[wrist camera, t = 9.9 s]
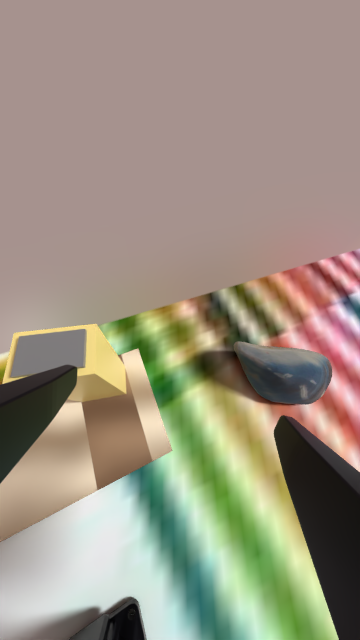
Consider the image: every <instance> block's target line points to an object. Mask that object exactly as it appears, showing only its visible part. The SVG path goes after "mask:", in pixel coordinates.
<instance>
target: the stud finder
mask: <svg viewBox="0 0 360 640" xmlns="http://www.w3.org/2000/svg"><path fill="white" fill-rule="evenodd" d="M67 364H68V365H73V366H76V367H77V369H78V371H77V384H76V386H75V388H74V390H73V391H72V393H71V394H70V396H69V397H68V400H74V401H79V402H85V401H91V400H96V399H102V398H107V397H113V396H119V395H124V394H126V375H125V365H124V364H123V362H122V361H121V360H120V358H119V357H118V355H117V354H116V352H115V351H114V349H113V348H112V346H111V345H110V344H109V342H108V341H107V339H106V338H105V336H104V335H103V333H102V332H101V330H100V329H99V328H98V326H97V325H96V324H90V325H81V326H72V327H63V328H54V329H45V330H36V331H27V332H18V333H14V335H13V340H12V344H11V349H10V353H9V357H8V361H7V365H6V370H5V374H4V378H3V383H2V384H4V383H8V382H11V381H14V380H17V379H21V378H24V377H27V376H31V375H34V374H37V373H40V372H44V371H47V370H50V369H53V368H57V367H60V366H63V365H67Z"/></svg>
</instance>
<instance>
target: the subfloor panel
mask: <svg viewBox="0 0 360 640" xmlns="http://www.w3.org/2000/svg"><path fill="white" fill-rule="evenodd" d="M118 357H119V358H120V360H121V361H122V362H123V364H124V365H125V375H126V394H124V395H119V396H113V397H107V398H102V399H96V400H91V401H85V402H79V401H74V400H68V399H67V400H66V402H65V403H64V405H63V406H62V407H61V409H60V410H59V412H58V413H57V415H56V416H55V418H54V419H53V420H52V422H51V423H50V424H49V426H48V427H47V428H46V429H45V430H44V432H43V433H42V434H41V435H40V437H39V438H38V439H37V440H36V441H35V443H34V444H33V445H32V446H31V447H30V449H29V450H28V451H27V452H26V453H25V455H24V456H23V457H22V458H21V460H20V461H19V462H18V463H17V464H16V466H15V467H14V468H13V469H12V470H11V472H10V473H9V474H8V475H7V476H6V478H5V479H4V480H3V481H2V483H1V484H0V542H1V541H3V540H5V539H7V538H9V537H11V536H13V535H14V534H16V533H18V532H20V531H22V530H24V529H26V528H28V527H29V526H31V525H33V524H35V523H37V522H39V521H41V520H43V519H45V518H46V517H48V516H50V515H52V514H54V513H56V512H58V511H60V510H62V509H63V508H65V507H67V506H69V505H71V504H73V503H75V502H77V501H78V500H80V499H82V498H84V497H86V496H88V495H90V494H92V493H94V492H95V491H97V490H99V489H101V488H103V487H105V486H107V485H109V484H110V483H112V482H114V481H116V480H118V479H120V478H122V477H124V476H126V475H127V474H129V473H131V472H133V471H135V470H137V469H139V468H141V467H143V466H144V465H146V464H148V463H150V462H152V461H154V460H156V459H158V458H159V457H161V456H163V455H165V454H167V453H169V452H171V451H172V448H171V445H170V442H169V439H168V436H167V433H166V430H165V427H164V424H163V421H162V418H161V415H160V412H159V410H158V407H157V404H156V401H155V398H154V395H153V392H152V389H151V386H150V383H149V380H148V377H147V374H146V371H145V368H144V365H143V362H142V359H141V356H140V353H139V350H138V349H135V350H133V351H130V352H127V353H124V354H121V355H118Z"/></svg>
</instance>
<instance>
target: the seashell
mask: <svg viewBox="0 0 360 640" xmlns="http://www.w3.org/2000/svg"><path fill="white" fill-rule="evenodd" d="M234 350H235V352H236V354H237V356H238V358H239V360H240V363H241V365H242V368H243V370H244V372H245V374H246V376H247V378H248V380H249V382H250V383H251V385H252V387H253V388H254V389H255V391H256V392H257V393H258V394H259V395H260V396H262V397H263V398H265V399H268V400H270V401H272V402H279V403H285V404H311V403H313V402H315V401H316V400H318V399H319V398H321V397H322V395H323V394H324V393H325V391H326V389H327V387H328V385H329V383H330V381H331V378H332V367H331V364H330V362H329V360H328V359H327V358H326V357H325V356H323V355H322V354H319V353H317V352H313V351H309V350H304V349H296V348H284V347H270V346H260V345H254V344H249V343H245V342H236V343H235V344H234Z"/></svg>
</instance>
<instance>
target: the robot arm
mask: <svg viewBox="0 0 360 640" xmlns="http://www.w3.org/2000/svg"><path fill="white" fill-rule="evenodd" d="M77 371H78V369H77V367H76V366H73V365H68V364H67V365H63V366H60V367H57V368H53V369H50V370H47V371H44V372H40V373H37V374H34V375H31V376H27V377H24V378H21V379H17V380H14V381H11V382H8V383H4V384H1V385H0V484H1V483H2V481H3V480H4V479H5V478H6V476H7V475H8V474H9V473H10V472H11V470H12V469H13V468H14V467H15V466H16V464H17V463H18V462H19V461H20V460H21V458H22V457H23V456H24V455H25V453H26V452H27V451H28V450H29V449H30V447H31V446H32V445H33V444H34V443H35V441H36V440H37V439H38V438H39V437H40V435H41V434H42V433H43V432H44V430H45V429H46V428H47V427H48V426H49V424H50V423H51V422H52V420H53V419H54V418H55V416H56V415H57V413H58V412H59V410H60V409H61V407H62V406H63V405H64V403H65V402H66V400H67V399H68V397H69V396H70V394H71V393H72V391H73V390H74V388H75V386H76V384H77ZM274 438H275V442H276V446H277V450H278V454H279V458H280V462H281V466H282V470H283V474H284V477H285V480H286V484H287V487H288V490H289V493H290V496H291V499H292V502H293V504H294V507H295V510H296V513H297V516H298V519H299V522H300V525H301V528H302V531H303V534H304V537H305V540H306V543H307V546H308V549H309V552H310V555H311V558H312V561H313V564H314V567H315V570H316V573H317V576H318V579H319V582H320V585H321V588H322V591H323V594H324V597H325V600H326V603H327V606H328V609H329V611H330V614H331V617H332V620H333V623H334V626H335V629H336V632H337V635H338V638H339V640H360V472H358V471H357V470H356V469H355V468H354V467H352V466H351V465H350V464H349V463H347V462H346V461H345V460H344V459H343V458H341V457H340V456H339V455H338V454H336V453H335V452H334V451H333V450H332V449H330V448H329V447H328V446H327V445H325V444H324V443H323V442H322V441H321V440H319V439H318V438H317V437H316V436H314V435H313V434H312V433H311V432H310V431H308V430H307V429H306V428H305V427H303V426H302V425H301V424H300V423H299V422H297V421H296V420H295V419H294V418H292V417H288V416H284V415H283V416H281V417H280V419H279V421H278V423H277V425H276V427H275V429H274ZM130 609H134V610H135V613H134V614H133V615H131V614H130V613H129V611H130ZM69 640H147V639H146V634H145V630H144V625H143V620H142V616H141V611H140V606H139V603H138V601H137V600H136V599H134V598H133V599H130V600H129V601H128V602H126V603H125V604H123V605H122V606H121V607H119V608H118V609H116V610H115V611H114V612H112V613H111V614H109V615H108V614H104V615H102V616H101V617H99V618H98V619H97V620H95V621H94V622H92V623H91V624H89V625H88V626H87V627H85V628H84V629H82V630H81V631H80V632H78V633H77V634H75V635H74V636H73V637H71V638H70V639H69Z"/></svg>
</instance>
